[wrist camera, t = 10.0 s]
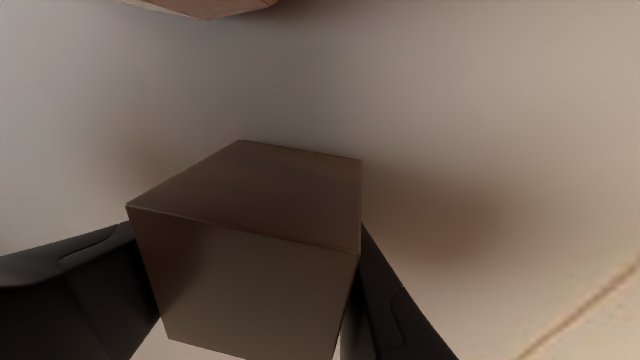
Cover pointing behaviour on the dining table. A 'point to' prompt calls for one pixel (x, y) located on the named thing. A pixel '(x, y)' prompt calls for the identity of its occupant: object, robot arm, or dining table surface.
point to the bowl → (202, 7)
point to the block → (254, 250)
